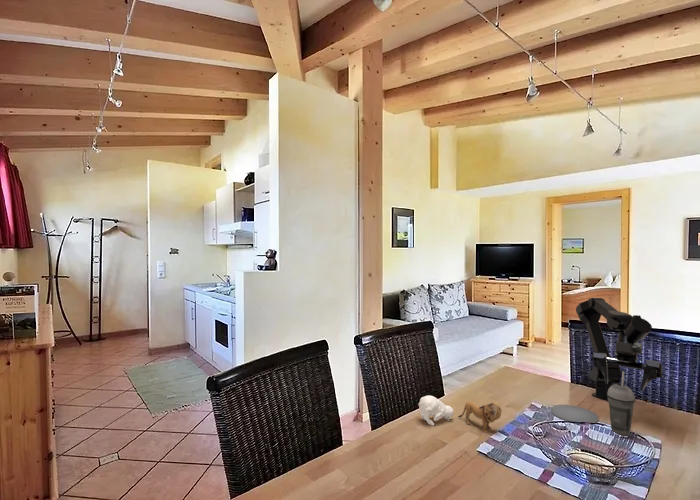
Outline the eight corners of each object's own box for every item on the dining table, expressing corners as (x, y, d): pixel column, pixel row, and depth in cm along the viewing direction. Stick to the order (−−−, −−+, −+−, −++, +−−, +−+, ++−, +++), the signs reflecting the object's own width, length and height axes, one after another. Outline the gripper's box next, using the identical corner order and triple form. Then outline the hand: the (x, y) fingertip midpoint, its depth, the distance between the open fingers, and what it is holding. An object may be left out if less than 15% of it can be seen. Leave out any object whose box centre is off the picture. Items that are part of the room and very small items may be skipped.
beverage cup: (625, 429, 121) (626, 367, 121) (640, 441, 114) (641, 374, 114) (601, 428, 122) (602, 366, 122) (615, 439, 114) (615, 373, 114)
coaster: (566, 404, 141) (566, 401, 141) (606, 418, 128) (606, 416, 128) (542, 411, 134) (542, 409, 134) (583, 428, 122) (583, 425, 122)
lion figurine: (504, 431, 119) (504, 402, 119) (497, 436, 116) (497, 407, 116) (461, 416, 130) (462, 390, 130) (453, 421, 126) (454, 394, 126)
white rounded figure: (417, 392, 127) (448, 392, 131) (415, 418, 127) (446, 417, 131) (426, 400, 121) (459, 399, 125) (424, 427, 121) (456, 425, 125)
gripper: (592, 328, 133) (587, 367, 124) (662, 336, 120) (660, 380, 112) (596, 346, 139) (591, 385, 130) (662, 356, 126) (661, 399, 118)
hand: (623, 386), depth 122 cm, fingers open, 9 cm apart
